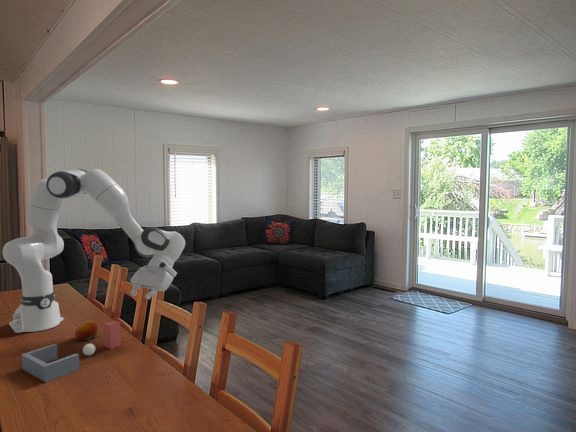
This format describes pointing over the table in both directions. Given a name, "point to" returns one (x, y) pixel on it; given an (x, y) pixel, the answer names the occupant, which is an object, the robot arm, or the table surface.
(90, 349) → the ball
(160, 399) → the table surface
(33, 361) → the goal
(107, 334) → the red tall block
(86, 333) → the fruit
